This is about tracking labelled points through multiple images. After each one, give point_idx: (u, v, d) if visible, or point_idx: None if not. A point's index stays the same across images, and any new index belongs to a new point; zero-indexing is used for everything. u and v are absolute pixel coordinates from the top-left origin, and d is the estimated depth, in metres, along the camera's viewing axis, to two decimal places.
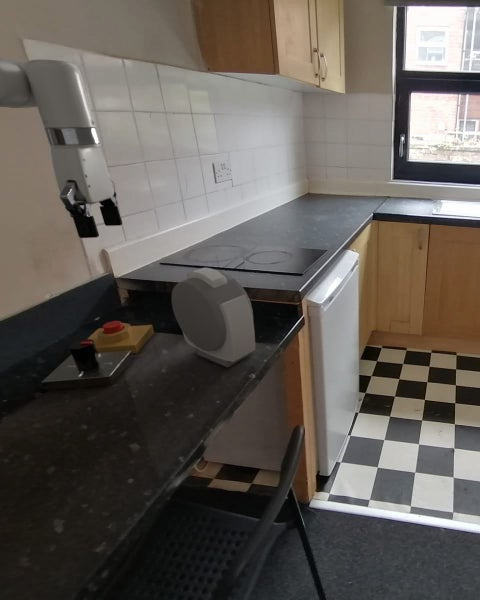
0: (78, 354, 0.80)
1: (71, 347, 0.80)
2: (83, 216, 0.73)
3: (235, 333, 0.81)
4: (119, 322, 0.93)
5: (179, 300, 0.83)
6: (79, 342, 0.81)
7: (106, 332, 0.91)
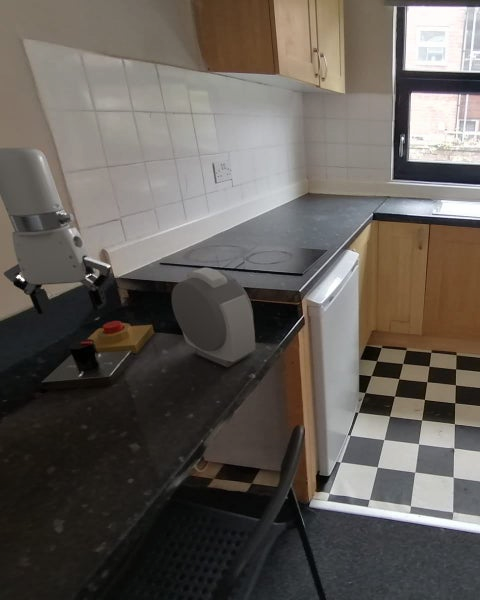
0: (78, 354, 0.80)
1: (71, 347, 0.80)
2: None
3: (235, 333, 0.81)
4: (119, 322, 0.93)
5: (179, 300, 0.83)
6: (79, 342, 0.81)
7: (106, 332, 0.91)
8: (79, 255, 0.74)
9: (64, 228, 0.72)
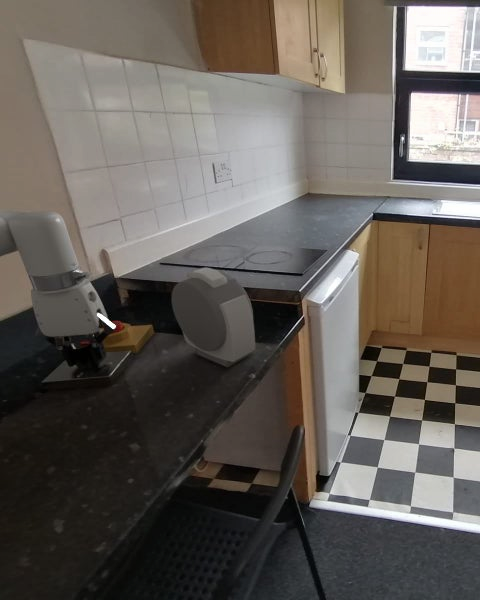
0: (78, 354, 0.80)
1: (71, 347, 0.80)
2: None
3: (235, 333, 0.81)
4: (119, 322, 0.93)
5: (179, 300, 0.83)
6: (79, 342, 0.81)
7: None
8: (93, 309, 0.78)
9: (80, 285, 0.76)
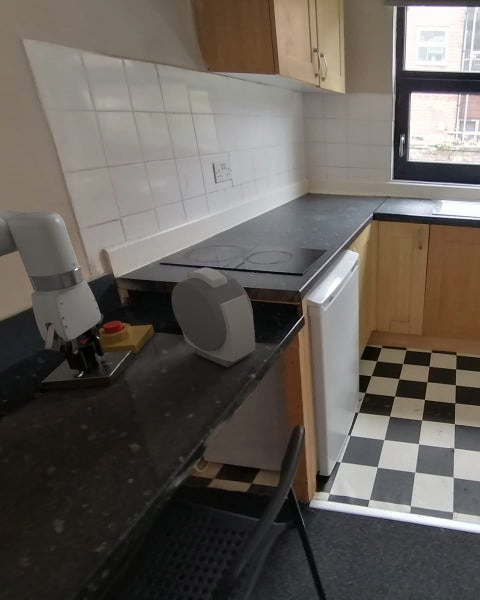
0: (93, 348, 0.81)
1: (83, 346, 0.80)
2: (71, 353, 0.78)
3: (235, 333, 0.81)
4: (119, 322, 0.93)
5: (179, 300, 0.83)
6: None
7: (106, 332, 0.91)
8: None
9: None
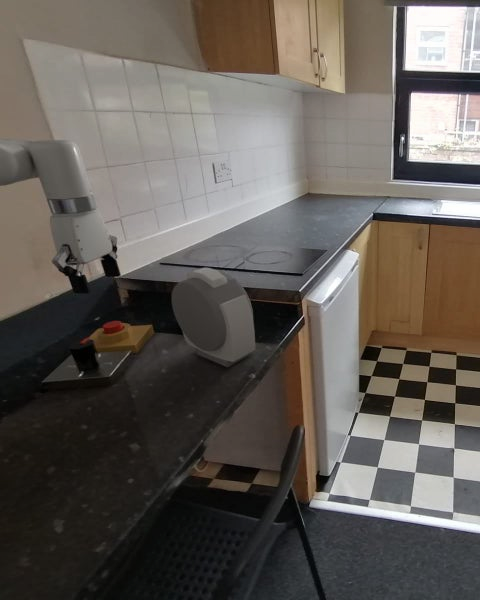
0: (93, 348, 0.81)
1: (83, 346, 0.80)
2: (75, 276, 0.81)
3: (235, 333, 0.81)
4: (119, 322, 0.93)
5: (179, 300, 0.83)
6: (75, 345, 0.80)
7: (106, 332, 0.91)
8: None
9: None
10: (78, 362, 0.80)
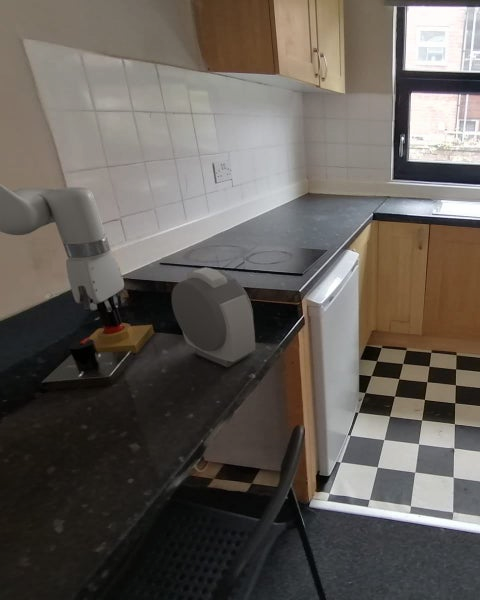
0: (93, 348, 0.81)
1: (83, 346, 0.80)
2: (106, 311, 0.89)
3: (235, 333, 0.81)
4: None
5: (179, 300, 0.83)
6: (75, 345, 0.80)
7: (106, 333, 0.91)
8: None
9: None
10: (78, 362, 0.80)
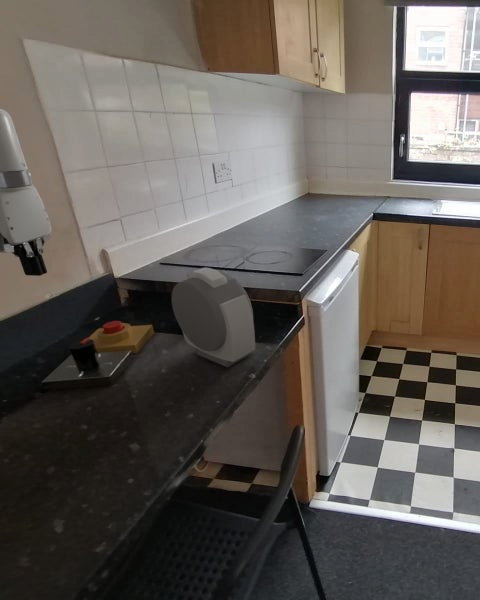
0: (93, 348, 0.81)
1: (83, 346, 0.80)
2: (26, 256, 0.78)
3: (235, 333, 0.81)
4: (119, 322, 0.93)
5: (179, 300, 0.83)
6: (75, 345, 0.80)
7: (106, 332, 0.91)
8: None
9: None
10: (78, 362, 0.80)
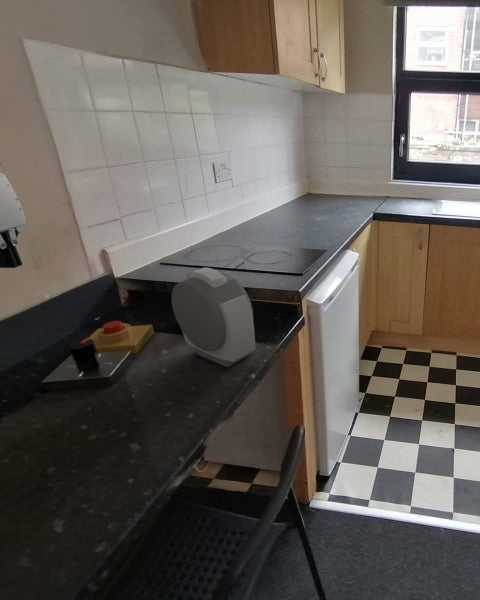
0: (93, 348, 0.81)
1: (83, 346, 0.80)
2: None
3: (235, 333, 0.81)
4: (119, 322, 0.93)
5: (179, 300, 0.83)
6: (75, 345, 0.80)
7: (106, 332, 0.91)
8: None
9: None
10: (78, 362, 0.80)
